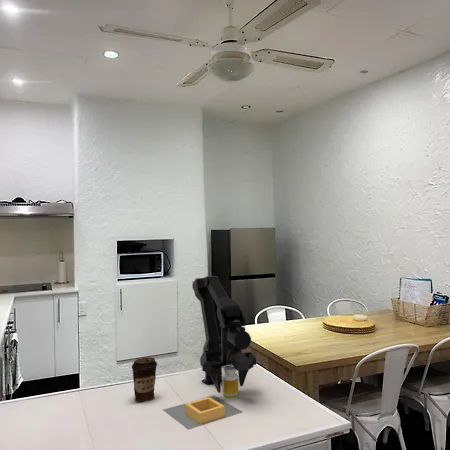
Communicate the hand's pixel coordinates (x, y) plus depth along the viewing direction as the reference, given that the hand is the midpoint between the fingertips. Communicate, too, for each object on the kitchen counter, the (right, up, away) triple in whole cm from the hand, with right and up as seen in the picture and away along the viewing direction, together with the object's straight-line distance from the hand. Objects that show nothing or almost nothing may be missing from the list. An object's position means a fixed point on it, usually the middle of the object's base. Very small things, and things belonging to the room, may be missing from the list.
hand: (230, 389), depth 138 cm
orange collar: (-8, -2, -15) cm, 17 cm away
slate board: (-9, -2, -12) cm, 15 cm away
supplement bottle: (0, -3, 0) cm, 3 cm away
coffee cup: (-28, -3, -1) cm, 28 cm away
